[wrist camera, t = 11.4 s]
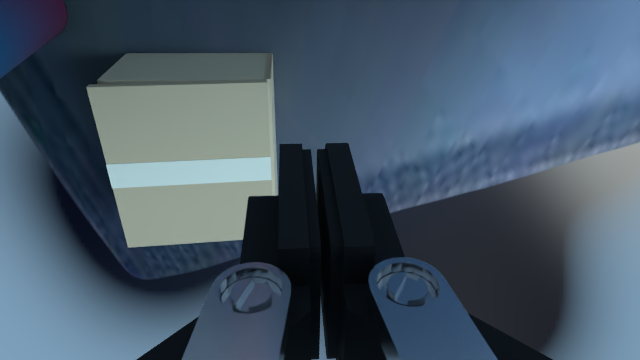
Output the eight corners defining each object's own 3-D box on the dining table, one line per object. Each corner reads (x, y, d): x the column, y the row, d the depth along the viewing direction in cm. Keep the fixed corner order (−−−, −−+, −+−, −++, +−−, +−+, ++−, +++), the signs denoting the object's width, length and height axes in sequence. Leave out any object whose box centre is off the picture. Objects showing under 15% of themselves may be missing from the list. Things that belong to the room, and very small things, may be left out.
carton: (272, 52, 44) (270, 79, 37) (277, 190, 53) (276, 232, 46) (126, 53, 43) (96, 80, 36) (155, 193, 52) (135, 236, 45)
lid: (266, 79, 37) (267, 83, 37) (273, 233, 46) (274, 238, 45) (89, 84, 36) (85, 87, 35) (129, 242, 44) (127, 248, 43)
